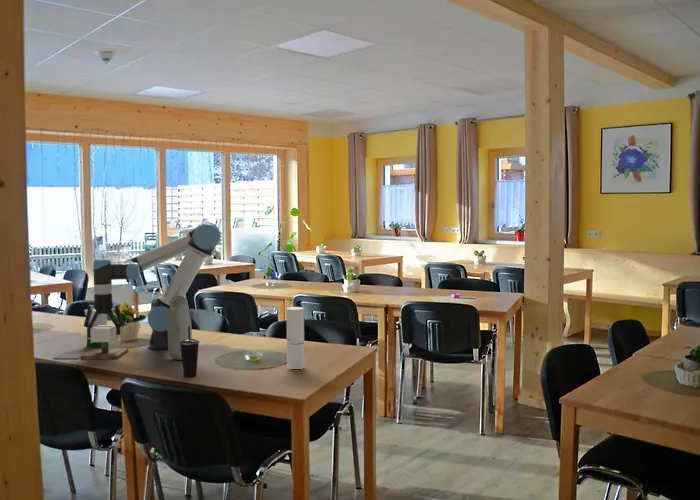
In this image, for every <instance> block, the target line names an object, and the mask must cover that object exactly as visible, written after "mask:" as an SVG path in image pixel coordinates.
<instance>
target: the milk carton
mask: <svg viewBox="0 0 700 500" xmlns="http://www.w3.org/2000/svg"><path fill="white" fill-rule="evenodd" d="M87 311H88V310H87V309H84V314H85V316H86V315H87ZM95 312H96V310H95V308H93V310H92V314H91V317H90V321H89V323H90V322H91V320H92V318H93V316H94V314H95ZM98 325H108V314H99V316H98V317H97V319H96V321H95V323H94V325H93V327H96V326H98ZM108 345H109V343H108ZM86 348H92V349H100V348H101V342H93V343H91V335H89V334H88V328H87V327H86Z"/></svg>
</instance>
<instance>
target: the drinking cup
mask: <svg viewBox="0 0 700 500" xmlns="http://www.w3.org/2000/svg"><path fill="white" fill-rule="evenodd" d="M179 344H180V347H181V356H182V360H181V364H182V371H183V377H184V378H187V379H188V378H190V377H191V378H195V377H197V373H198V372H197V371H198V358H199V344H200V341H199V340H198V339H195V338H192V339H190V326H188V339H185V340H183V341H181V342H180V343H179Z"/></svg>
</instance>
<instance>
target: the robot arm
mask: <svg viewBox="0 0 700 500" xmlns="http://www.w3.org/2000/svg"><path fill="white" fill-rule="evenodd" d="M220 240H221V233H220V229H219V227H218V226H217V225H216V224H214V223H212V222H210V221H209V222H208V221H207V222H202V223H200V224H199V225H197V226H196V227H194V228H193V229H191V230H189V231H187V232H186V234H184V235H183V236H180V237H178V238H176V239H174V240H171V241H169V242H166V243H165V244H162V245H159V246H158V247H155V248H152V249H150V250H148V251H146V252H143V253H141V254H139V255H137V256H134V257H133V258H130V259H126V260H125V261H124V262H112V259H111V258H95V259H94V260H93V262H92V263H93V268H92V273H93V277H92V278H93V293H94V296H93V302H94V304H89V305H87V306H86V307H87V308H86V310H88V311H87V315H85V319H84V322H83V327H84V328H86V329H87V328H88V334H89V335H91V329H92V328H94V327H93V325H94V323H95V321H96V319H97V317H98V316H99V314H107V317H109V318H110V320H111V321H112V323H113V325H115V326H116V328H114V333H115V340H114V343H116V344H117V343H119V341H120V339H119V336H120V335H121V327H124V326H125V325H126V324H125V322H124V318H123V315H122V313H121V310H120V308H121V305H120V304H113V294H112V292H113V287H112V286H113V284H112V280H114V281H117V280H139V278H140V273H142V272H144V271H146V270H149V269H152V268H153V267H156V266H158V265H160V264H162V263H164V262H166V261H169V260H172V259H174V258H176V257H178V256H181V255H183V254H185V255H184V257H183V258H182V260H181V262H180V264H179V266H178V267H177V269H176V271H175V273H174V275H173V277H172V279H171V280H170V282H169V284H168V286H167V287H166V289H165V290H164V293H163V294H162V295H160V296H158V297H157V298H153V299H152V300H151V303H150V306H151V309H150V310H149V312H148V314H147V323H148V326H149V327H150V328H151V329H152V330H151V335H150V337H149V341H148V348H149V349H152V350H153V349H154V350H168V331H167V324H168V317H169V312H170V302H171V300H172V298H173V297H175V296H183V297H185V296H186V294H187V293H188V291H189V289H190V287H191V285H192V283H193V282H194V279H195V278H196V276H197V274H198V272H199V271H200V269H201V267H202V265H203V263H204V261H205V259H206V258H209V257H211V256H212V254H213V252H214V250H215V248H216V247H217V246H218V244H219V243H220ZM93 308H95V310H96V312H95V314H94V316H93V318H92V320H91V322H90V323H89V321H90V317H91V314H92V310H93ZM112 309H113V310H114V312H115V314H114V312H113V310H112ZM91 343H93V342H92V338H91Z"/></svg>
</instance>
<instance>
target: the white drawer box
mask: <svg viewBox="0 0 700 500" xmlns="http://www.w3.org/2000/svg"><path fill="white" fill-rule="evenodd" d="M114 328H116V326H115V325H114V324H107V325H98V326H96V327H94V328H92V329H91V338H92V342H108V343H111V342H113V341H115V333H114Z"/></svg>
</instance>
